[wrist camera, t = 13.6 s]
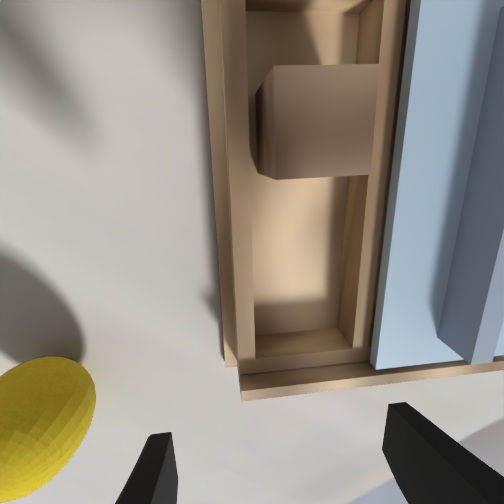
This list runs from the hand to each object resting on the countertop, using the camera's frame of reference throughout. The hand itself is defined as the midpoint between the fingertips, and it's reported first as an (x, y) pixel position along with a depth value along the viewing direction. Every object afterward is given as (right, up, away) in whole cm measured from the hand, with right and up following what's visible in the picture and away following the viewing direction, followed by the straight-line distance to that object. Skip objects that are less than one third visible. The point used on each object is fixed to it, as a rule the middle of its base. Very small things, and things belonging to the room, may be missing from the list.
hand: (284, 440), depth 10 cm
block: (+1, +13, +6) cm, 14 cm away
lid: (+10, +9, +6) cm, 15 cm away
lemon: (-13, -1, +10) cm, 17 cm away
